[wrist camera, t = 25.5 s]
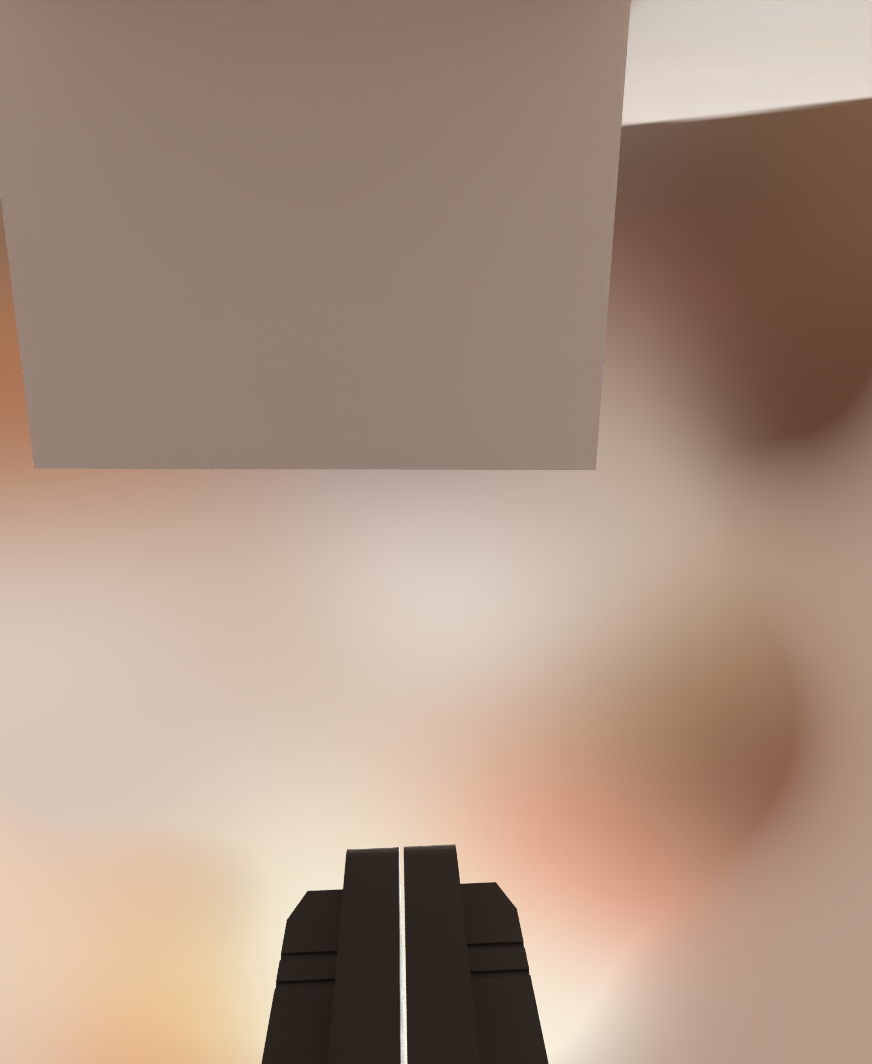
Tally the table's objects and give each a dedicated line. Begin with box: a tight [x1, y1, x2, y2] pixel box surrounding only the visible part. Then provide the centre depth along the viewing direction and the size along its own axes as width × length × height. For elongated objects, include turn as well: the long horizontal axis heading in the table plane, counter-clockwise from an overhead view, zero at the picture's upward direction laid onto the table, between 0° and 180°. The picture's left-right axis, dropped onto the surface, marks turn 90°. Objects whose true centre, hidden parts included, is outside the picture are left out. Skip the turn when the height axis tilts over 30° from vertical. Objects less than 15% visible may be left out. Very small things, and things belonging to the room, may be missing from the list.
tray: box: [0, 0, 631, 470], centre depth 22 cm, size 12×11×10 cm
